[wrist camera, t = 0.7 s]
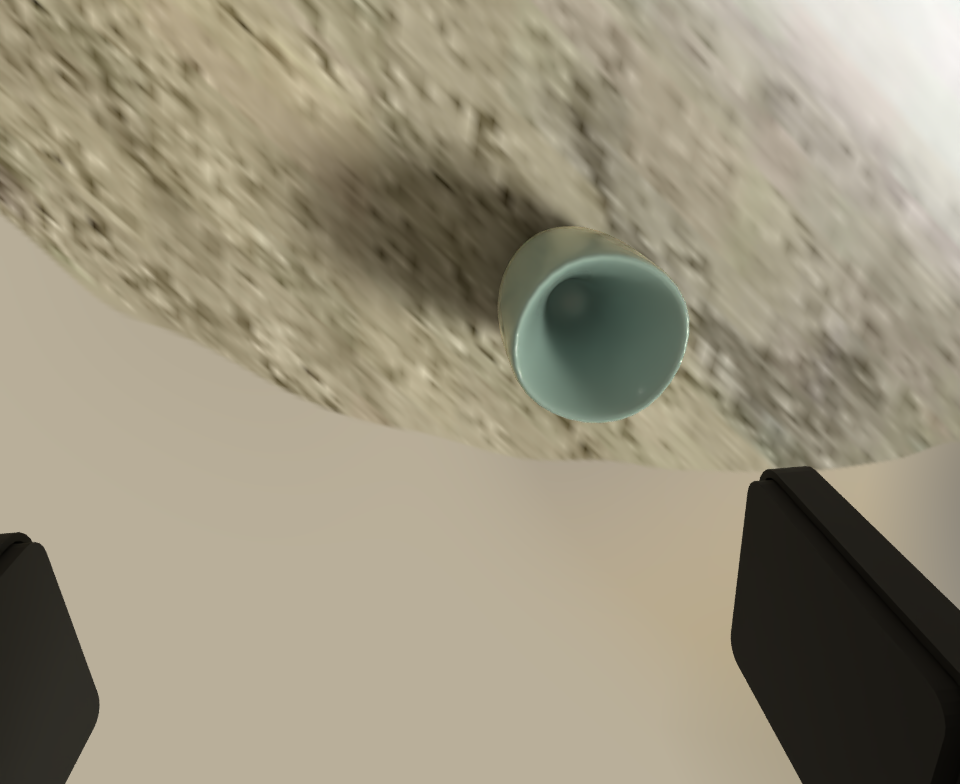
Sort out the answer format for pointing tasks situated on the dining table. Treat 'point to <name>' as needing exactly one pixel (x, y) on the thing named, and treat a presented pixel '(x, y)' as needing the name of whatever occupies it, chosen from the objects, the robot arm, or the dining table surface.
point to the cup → (590, 324)
